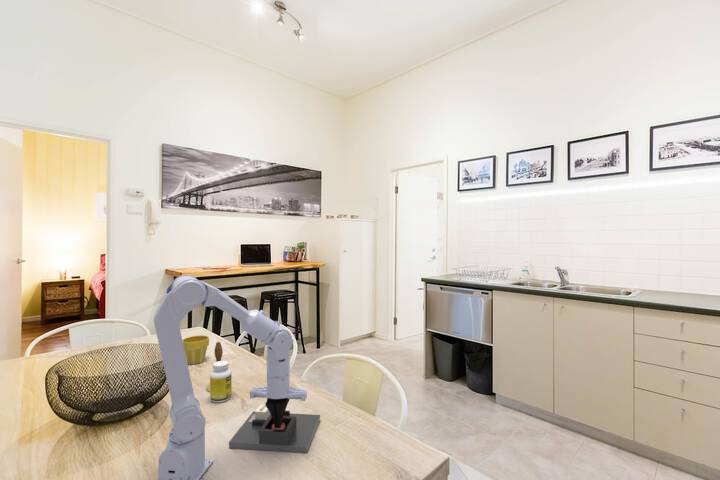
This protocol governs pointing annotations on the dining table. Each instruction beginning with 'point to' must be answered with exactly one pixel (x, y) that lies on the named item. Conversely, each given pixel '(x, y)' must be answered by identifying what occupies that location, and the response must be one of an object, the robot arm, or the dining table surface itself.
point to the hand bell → (218, 357)
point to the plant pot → (195, 348)
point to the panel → (277, 433)
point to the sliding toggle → (262, 412)
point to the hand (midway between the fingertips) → (278, 425)
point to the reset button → (280, 427)
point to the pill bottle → (220, 382)
